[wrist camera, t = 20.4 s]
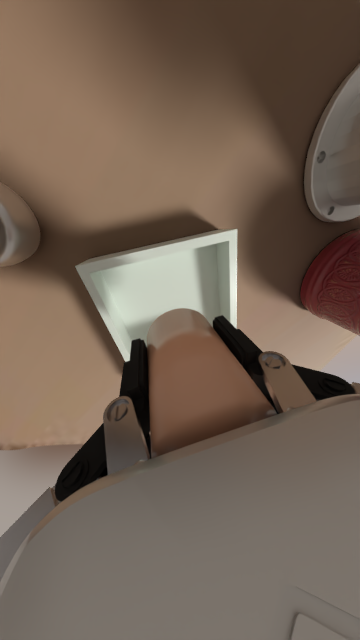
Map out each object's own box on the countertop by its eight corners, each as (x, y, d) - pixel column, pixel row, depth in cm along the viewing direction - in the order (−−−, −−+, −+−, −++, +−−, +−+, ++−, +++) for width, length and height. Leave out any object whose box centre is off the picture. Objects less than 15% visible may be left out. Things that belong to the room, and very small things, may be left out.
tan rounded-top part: (207, 300, 11) (287, 382, 5) (212, 352, 13) (269, 447, 7) (137, 319, 10) (130, 434, 4) (156, 369, 13) (168, 485, 7)
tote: (219, 229, 17) (237, 228, 14) (224, 354, 28) (236, 371, 24) (89, 258, 16) (74, 266, 13) (144, 377, 27) (144, 398, 23)
